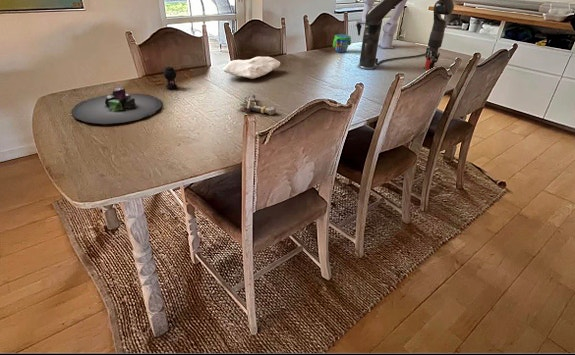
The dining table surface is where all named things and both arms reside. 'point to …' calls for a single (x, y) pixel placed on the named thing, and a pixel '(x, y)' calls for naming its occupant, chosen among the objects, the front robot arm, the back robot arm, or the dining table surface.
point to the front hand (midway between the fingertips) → (429, 67)
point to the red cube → (428, 63)
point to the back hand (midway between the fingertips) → (363, 35)
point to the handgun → (255, 106)
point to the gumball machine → (170, 77)
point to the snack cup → (341, 42)
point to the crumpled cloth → (252, 67)
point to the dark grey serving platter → (116, 108)
